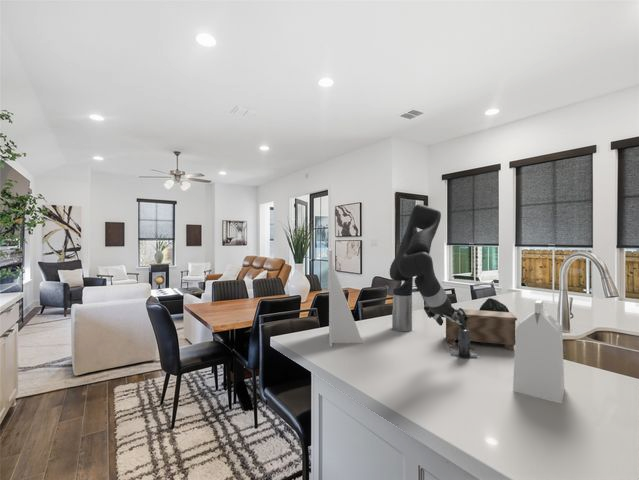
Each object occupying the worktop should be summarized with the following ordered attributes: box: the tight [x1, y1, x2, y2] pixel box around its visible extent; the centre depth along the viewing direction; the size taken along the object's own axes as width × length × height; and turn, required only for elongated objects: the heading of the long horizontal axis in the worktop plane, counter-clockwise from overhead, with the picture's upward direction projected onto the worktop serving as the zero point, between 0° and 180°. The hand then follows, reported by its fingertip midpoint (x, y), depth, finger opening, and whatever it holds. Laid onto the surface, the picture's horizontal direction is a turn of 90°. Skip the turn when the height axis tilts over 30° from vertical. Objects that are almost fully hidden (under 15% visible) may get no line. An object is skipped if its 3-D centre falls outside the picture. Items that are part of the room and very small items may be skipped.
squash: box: [479, 297, 510, 312], centre depth 172 cm, size 14×15×15 cm
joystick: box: [450, 329, 478, 359], centre depth 128 cm, size 9×12×10 cm
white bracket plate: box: [328, 248, 364, 347], centre depth 147 cm, size 20×14×40 cm
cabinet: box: [445, 308, 518, 351], centre depth 142 cm, size 27×11×13 cm, turn 70°
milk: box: [512, 299, 565, 404], centre depth 97 cm, size 12×12×26 cm
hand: (452, 325), depth 119 cm, fingers open, 8 cm apart
